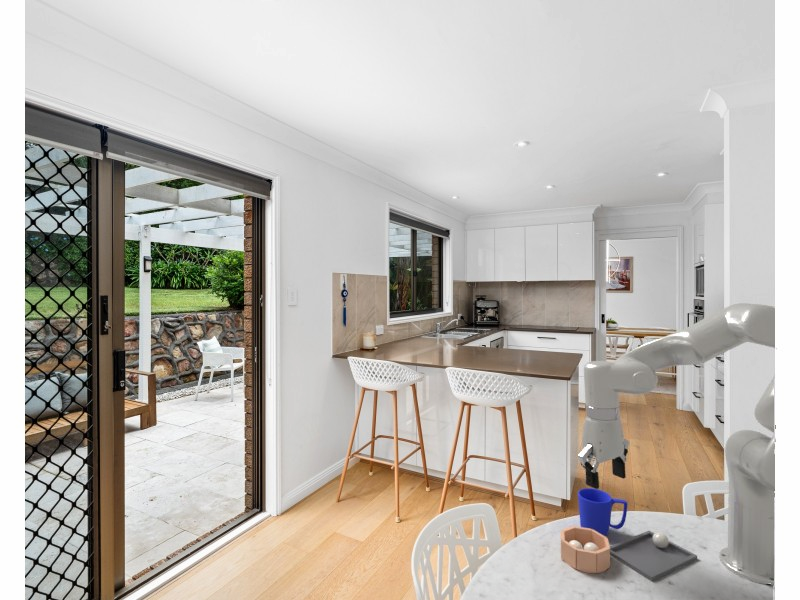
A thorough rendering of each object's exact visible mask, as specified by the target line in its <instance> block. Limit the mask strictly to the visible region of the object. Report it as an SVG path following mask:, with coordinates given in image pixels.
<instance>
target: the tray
mask: <svg viewBox="0 0 800 600" xmlns="http://www.w3.org/2000/svg"><path fill="white" fill-rule="evenodd" d="M655 533H656V532H653V531H651V530H647V531H643V532H642V533H639V534H637V535H634V536H631V537H629V538H627V539H624V540H622V541H618V542H616V543H614V544H612V545H609V546H610V557H611V558H613V559H615V560H617V561H618V562H620V563H621V564H623V565H625V567H627V568H628V569H631V570H632V571H634V572H635V573H638V574H639V575H640V576H642V577H643V578H645V579H647V580H649V581H650V582H654V581H656V580H658V579H660V578H662V577H664V576H666V575H669V574H671V573H673V572H674V571H677V570H678V569H680V568H683V567H685V566H687V565H689V564H691V563H693V562H695V561H697V560H698V555H697V554H695V553H693V552H691V551H689V550H687V549H685V548H683V547H682V546H680V545H678V544H676V543H674V542H672V541H670V540H669V544H668V546H667V547H666V548H659V547H657V546H656V545H655V544H654V542H653V539H652V538H653V535H654V534H655Z"/></svg>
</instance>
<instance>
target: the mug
mask: <svg viewBox="0 0 800 600" xmlns="http://www.w3.org/2000/svg"><path fill="white" fill-rule="evenodd" d="M577 498H578V508H579V509H578V512H579V524H580V527H583V528H590V529H593V530H595V531H597V532H598V533H600V534H602V535H603V536H605V537H607V535H608V534H609V531H610V528H612V529H614V530H619V529H621V528H623V526H624V525H625V523H626V518H627V512H628V501H626V500H625V499H619V498H612V496H611V495H610V494H609V493H608V492H606V491H603V490H601V489H599V488H598V489H595V488H593V487H588V488H582V489H579V490H578V492H577ZM614 504H623V511H622V517H621V520H620V522H619V523H618V524H611V521H612V520H611V518H612V511H613V510H612V509H613V506H614Z"/></svg>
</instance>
